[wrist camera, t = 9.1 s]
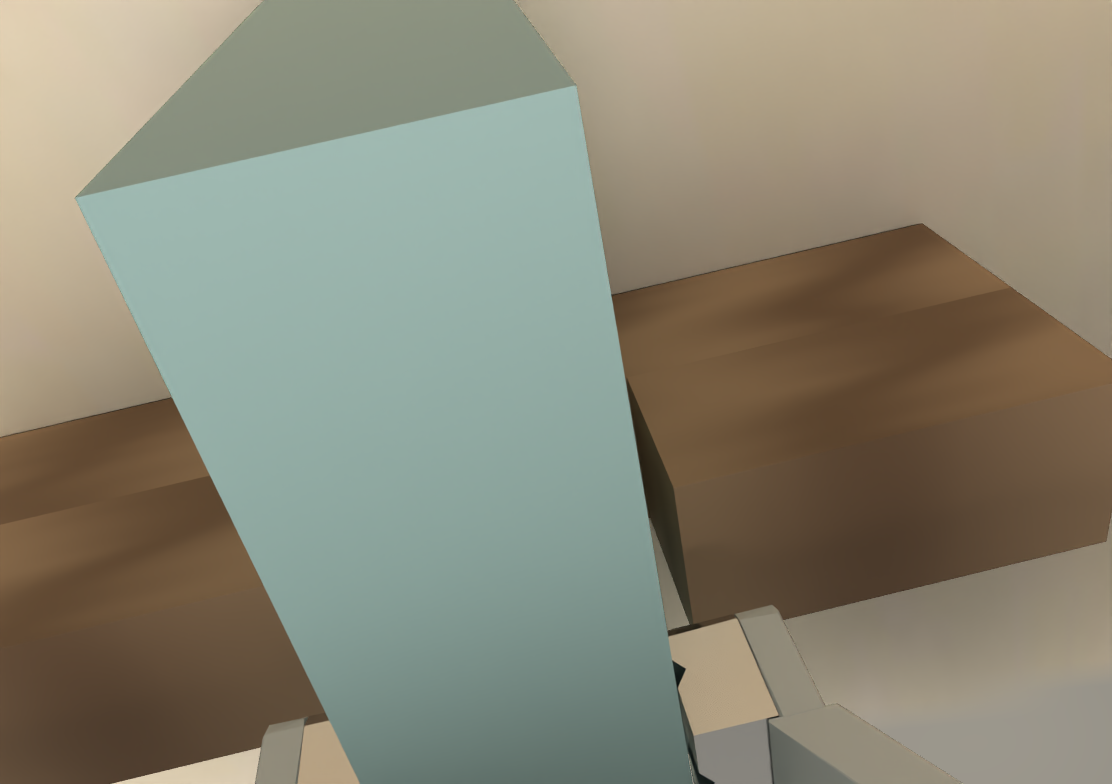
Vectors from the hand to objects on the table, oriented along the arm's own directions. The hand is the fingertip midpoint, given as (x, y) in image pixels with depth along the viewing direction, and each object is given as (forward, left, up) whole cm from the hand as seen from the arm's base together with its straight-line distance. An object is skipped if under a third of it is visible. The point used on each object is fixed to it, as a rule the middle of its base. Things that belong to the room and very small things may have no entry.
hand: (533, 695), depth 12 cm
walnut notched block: (0, 0, -8) cm, 8 cm away
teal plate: (0, 0, -8) cm, 8 cm away
